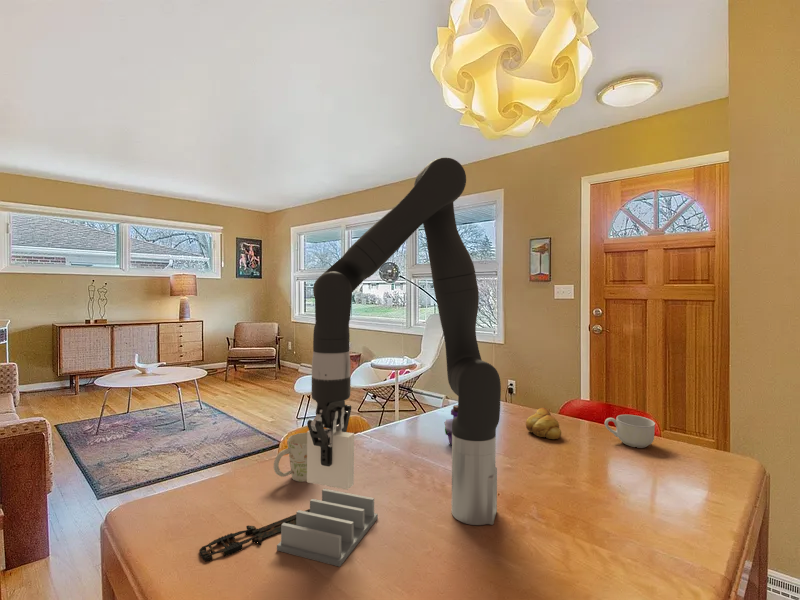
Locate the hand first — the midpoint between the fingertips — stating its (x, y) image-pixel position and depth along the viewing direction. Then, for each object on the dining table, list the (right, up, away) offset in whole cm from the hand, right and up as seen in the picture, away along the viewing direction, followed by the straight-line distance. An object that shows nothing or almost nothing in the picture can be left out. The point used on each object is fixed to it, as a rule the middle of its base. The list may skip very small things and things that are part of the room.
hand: (330, 461), depth 81 cm
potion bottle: (+32, -14, +49) cm, 60 cm away
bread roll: (+62, -14, +58) cm, 86 cm away
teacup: (+86, -14, +50) cm, 101 cm away
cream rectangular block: (0, -4, 0) cm, 4 cm away
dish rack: (0, -14, 0) cm, 14 cm away
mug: (-13, -14, +24) cm, 30 cm away
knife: (-12, -15, +1) cm, 19 cm away
